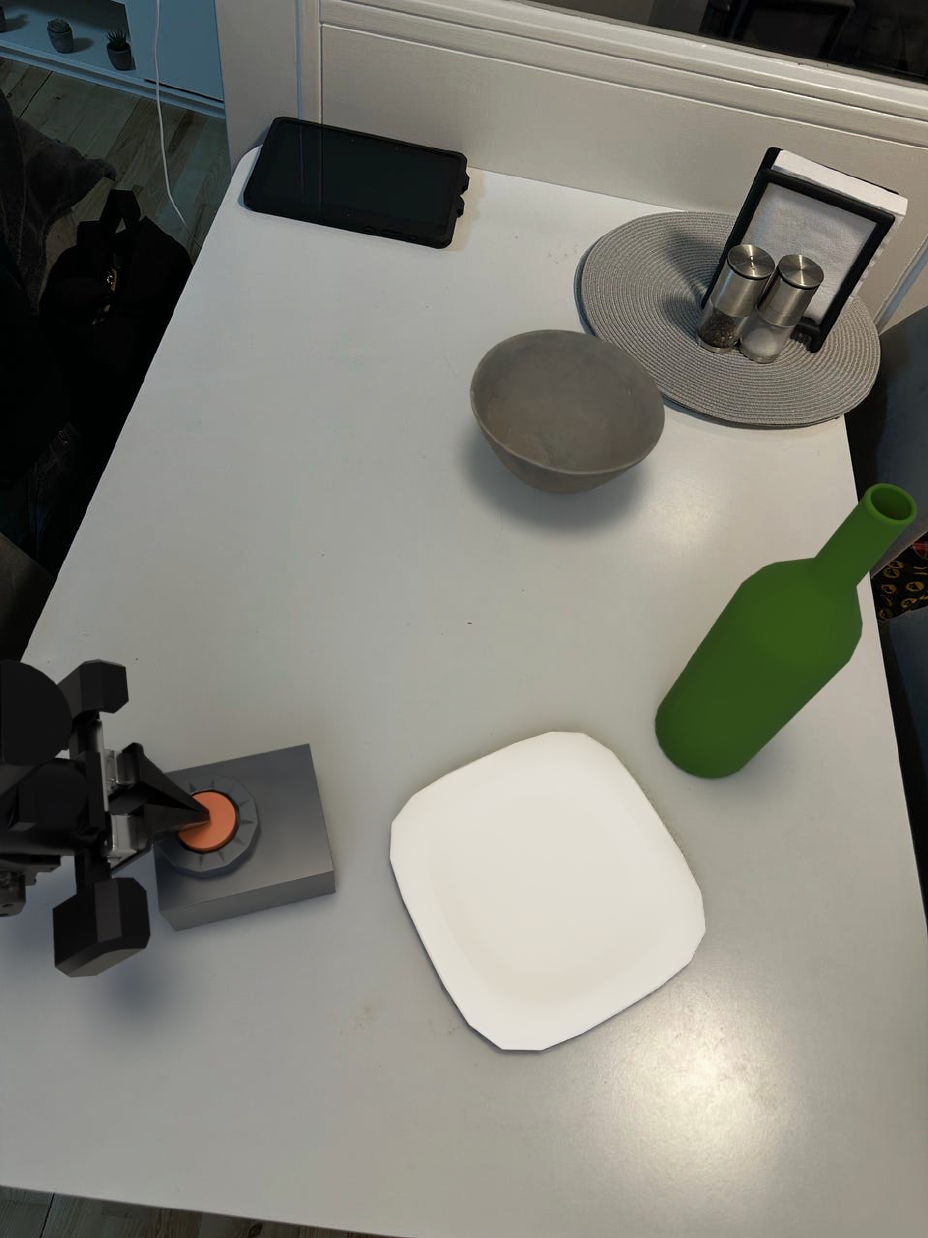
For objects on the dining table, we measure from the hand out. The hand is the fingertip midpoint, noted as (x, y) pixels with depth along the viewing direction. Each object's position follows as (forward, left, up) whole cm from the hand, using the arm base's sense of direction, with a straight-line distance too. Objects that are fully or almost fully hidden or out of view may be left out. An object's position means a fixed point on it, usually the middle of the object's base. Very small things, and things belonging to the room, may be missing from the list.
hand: (206, 818), depth 61 cm
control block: (+2, 0, -9) cm, 9 cm away
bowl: (+38, +33, -9) cm, 51 cm away
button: (0, 0, -2) cm, 2 cm away
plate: (+24, -8, -9) cm, 27 cm away
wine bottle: (+42, +1, -9) cm, 43 cm away
